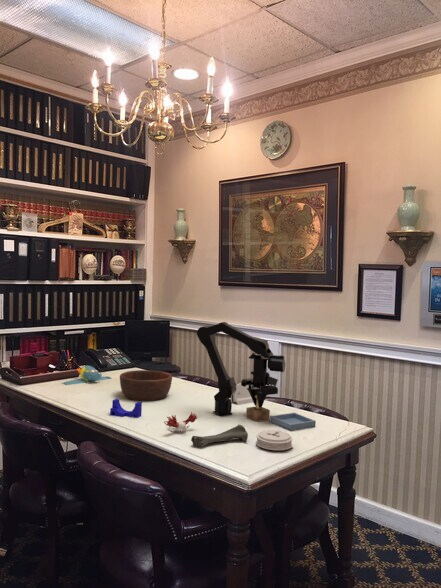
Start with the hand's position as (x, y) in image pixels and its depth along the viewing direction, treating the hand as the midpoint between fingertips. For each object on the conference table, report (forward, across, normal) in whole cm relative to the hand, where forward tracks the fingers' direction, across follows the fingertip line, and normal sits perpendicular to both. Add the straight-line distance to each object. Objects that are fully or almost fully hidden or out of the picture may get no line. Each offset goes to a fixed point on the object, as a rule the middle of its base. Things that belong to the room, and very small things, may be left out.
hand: (258, 406), depth 209 cm
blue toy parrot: (+6, +94, +43) cm, 103 cm away
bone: (+6, -20, +30) cm, 37 cm away
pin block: (+5, 0, 0) cm, 5 cm away
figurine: (+5, -1, +38) cm, 38 cm away
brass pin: (+5, 0, 0) cm, 5 cm away
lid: (+6, -30, +15) cm, 34 cm away
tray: (+5, -13, -8) cm, 16 cm away
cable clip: (+6, +26, +48) cm, 55 cm away
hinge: (+5, +26, -12) cm, 29 cm away
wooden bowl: (+5, +53, +28) cm, 60 cm away
